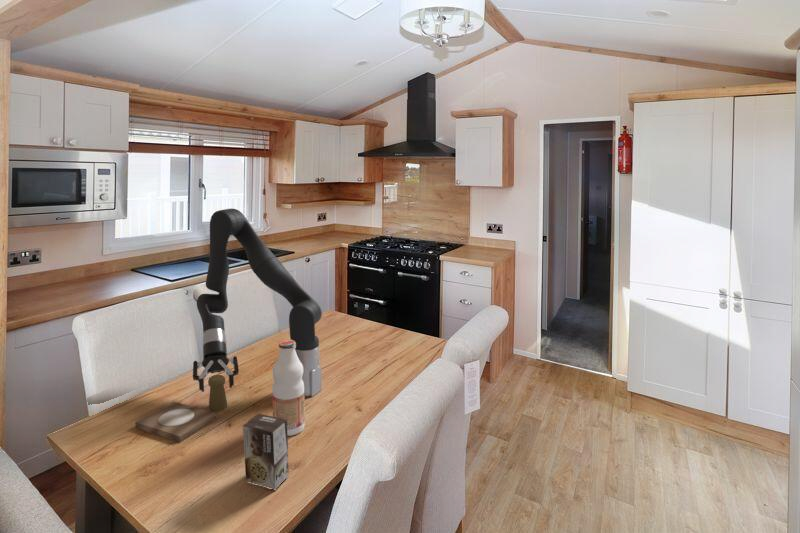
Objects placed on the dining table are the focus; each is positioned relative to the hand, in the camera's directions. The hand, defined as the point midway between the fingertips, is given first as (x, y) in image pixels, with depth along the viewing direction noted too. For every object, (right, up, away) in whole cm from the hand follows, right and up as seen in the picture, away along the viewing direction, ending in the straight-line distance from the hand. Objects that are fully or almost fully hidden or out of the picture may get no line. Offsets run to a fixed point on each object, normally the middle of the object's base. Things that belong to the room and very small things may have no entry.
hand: (217, 389), depth 148 cm
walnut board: (-9, -8, -9) cm, 15 cm away
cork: (0, -7, +1) cm, 7 cm away
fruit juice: (+26, -10, -10) cm, 30 cm away
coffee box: (+27, -14, -33) cm, 45 cm away
